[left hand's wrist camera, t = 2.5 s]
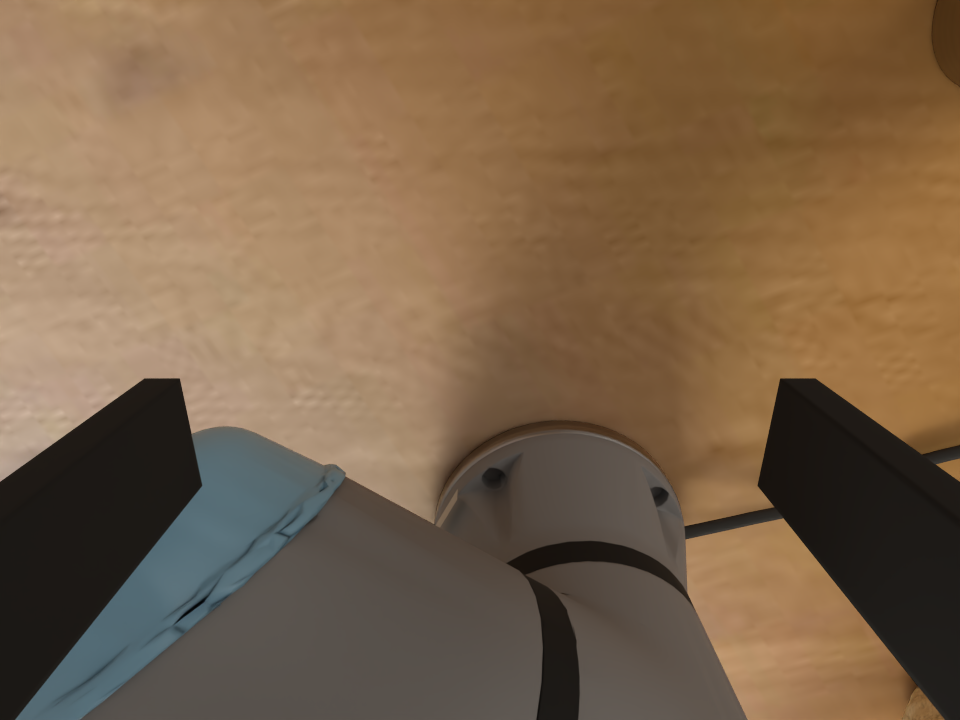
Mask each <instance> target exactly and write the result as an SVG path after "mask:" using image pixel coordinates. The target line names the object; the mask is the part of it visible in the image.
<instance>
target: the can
mask: <svg viewBox="0 0 960 720" xmlns="http://www.w3.org/2000/svg"><path fill="white" fill-rule="evenodd" d="M932 42H933V48H934V53H935V56H936V59H937V62H938V63H939V65H940V67H941V69H942V70H943V72H944V73H945V74H946V76H947V77H948V78H949V79H950V80H952V81H953V82H954V83H956V84H957V85H959V86H960V0H938V2H937V5H936V8H935V13H934V18H933V26H932Z"/></svg>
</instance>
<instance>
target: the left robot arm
mask: <svg viewBox="0 0 960 720" xmlns="http://www.w3.org/2000/svg"><path fill="white" fill-rule="evenodd" d="M959 458H960V445H959V446H954V447H950V448H946V449H942V450H938V451H934V452H930V453H926V454H923V455H921V454H920V453H919V452H917V451H916V450H914V449H913V448H912V447H910V446H909V445H908V444H906V443H905V442H903V441H902V440H901V439H899V438H898V437H896V436H895V435H894V434H892V433H891V432H889V431H888V430H887V429H885V428H884V427H882V426H881V425H880V424H878V423H877V422H875V421H874V420H873V419H871V418H870V417H868V416H867V415H866V414H864V413H863V412H861V411H860V410H859V409H857V408H856V407H854V406H853V405H852V404H850V403H849V402H847V401H846V400H845V399H843V398H842V397H840V396H839V395H838V394H836V393H835V392H833V391H832V390H831V389H829V388H828V387H826V386H825V385H824V384H822V383H821V382H819V381H818V380H817V379H780V382H779V387H778V392H777V396H776V401H775V406H774V411H773V415H772V420H771V425H770V429H769V434H768V439H767V444H766V448H765V453H764V458H763V462H762V467H761V472H760V477H759V481H758V487H759V488H760V489H761V491H762V492H763V493H764V494H765V496H766V497H767V498H768V499H769V501H770V502H771V503H772V504H773V506H774V508H769V509H764V510H759V511H754V512H749V513H744V514H740V515H735V516H731V517H726V518H722V519H717V520H712V521H708V522H703V523H698V524H694V525H689V526H684V521H683V517H682V513H681V508H680V505H679V502H678V499H677V496H676V494H675V492H674V490H673V488H672V486H671V485H670V483H669V481H668V479H667V478H666V476H665V474H664V472H663V471H662V469H661V468H660V466H659V465H658V464H657V462H656V461H655V460H654V459H653V458H652V457H651V456H650V455H649V454H648V453H647V452H646V451H645V450H644V449H643V448H642V447H640V446H639V445H638V444H636V443H635V442H634V441H632V440H630V439H629V438H627V437H625V436H623V435H621V434H619V433H617V432H615V431H613V430H610V429H607V428H604V427H601V426H597V425H594V424H589V423H583V422H576V421H547V422H539V423H534V424H528V425H525V426H521V427H518V428H514V429H512V430H509V431H507V432H504V433H502V434H500V435H498V436H496V437H494V438H492V439H490V440H489V441H487V442H485V443H484V444H482V445H481V446H479V447H478V448H477V449H475V450H474V451H473V452H472V453H470V454H469V455H468V456H467V457H466V458H465V459H464V460H463V461H462V462H461V463H460V464H459V466H458V467H457V468H456V469H455V470H454V472H453V473H452V475H451V476H450V478H449V479H448V481H447V483H446V484H445V486H444V489H443V491H442V493H441V495H440V498H439V502H438V505H437V510H436V516H435V525H434V524H432V523H430V522H428V521H427V520H425V519H423V518H421V517H419V516H417V515H416V514H414V513H412V512H410V511H408V510H406V509H404V508H403V507H401V506H399V505H397V504H395V503H393V502H392V501H390V500H388V499H386V498H384V497H382V496H380V495H379V494H377V493H375V492H373V491H371V490H369V489H368V488H366V487H364V486H362V485H360V484H358V483H356V482H355V481H353V480H351V479H349V478H347V477H345V472H344V471H343V470H342V469H340V468H339V467H338V466H337V465H333V464H328V465H322V464H319V463H317V462H315V461H313V460H311V459H309V458H307V457H305V456H303V455H301V454H298V453H296V452H294V451H292V450H290V449H288V448H286V447H284V446H282V445H280V444H278V443H275V442H273V441H271V440H269V439H267V438H265V437H263V436H261V435H259V434H257V433H254V432H252V431H249V430H246V429H242V428H237V427H215V428H209V429H205V430H202V431H199V432H196V433H193V434H191V429H190V425H189V420H188V415H187V411H186V406H185V401H184V396H183V392H182V387H181V382H180V379H143V380H142V381H141V382H139V383H138V384H136V385H135V386H134V387H132V388H131V389H129V390H128V391H127V392H125V393H124V394H122V395H121V396H120V397H118V398H117V399H115V400H114V401H113V402H111V403H110V404H108V405H107V406H106V407H104V408H103V409H101V410H100V411H99V412H97V413H96V414H94V415H93V416H92V417H90V418H89V419H87V420H86V421H85V422H83V423H82V424H80V425H79V426H78V427H76V428H75V429H73V430H72V431H71V432H69V433H68V434H66V435H65V436H64V437H62V438H61V439H59V440H58V441H57V442H55V443H54V444H52V445H51V446H50V447H48V448H47V449H46V450H44V451H43V452H41V453H40V454H39V455H37V456H36V457H34V458H33V459H32V460H30V461H29V462H27V463H26V464H25V465H23V466H22V467H20V468H19V469H18V470H16V471H15V472H13V473H12V474H11V475H9V476H8V477H6V478H5V479H4V480H2V481H1V482H0V720H747V718H746V715H745V713H744V711H743V709H742V707H741V705H740V703H739V701H738V699H737V697H736V694H735V692H734V690H733V688H732V686H731V684H730V682H729V680H728V678H727V676H726V673H725V671H724V669H723V667H722V665H721V663H720V661H719V659H718V657H717V655H716V652H715V650H714V648H713V646H712V644H711V642H710V640H709V638H708V636H707V634H706V631H705V629H704V627H703V625H702V623H701V621H700V619H699V617H698V615H697V613H696V611H695V609H694V607H693V604H692V602H691V600H690V598H689V596H688V594H687V571H686V545H685V539H689V538H694V537H698V536H703V535H708V534H712V533H717V532H721V531H726V530H731V529H735V528H740V527H744V526H748V525H753V524H758V523H763V522H767V521H772V520H777V519H782V518H784V519H785V521H786V522H787V523H788V524H789V526H790V527H791V528H792V529H793V531H794V532H795V533H796V534H797V536H798V537H799V538H800V539H801V541H802V542H803V543H804V544H805V546H806V547H807V548H808V549H809V551H810V552H811V553H812V554H813V556H814V557H815V558H816V559H817V561H818V562H819V563H820V564H821V566H822V567H823V568H824V569H825V571H826V572H827V573H828V574H829V576H830V577H831V578H832V579H833V581H834V582H835V583H836V584H837V586H838V587H839V588H840V589H841V591H842V592H843V593H844V594H845V596H846V597H847V598H848V599H849V601H850V602H851V603H852V604H853V606H854V607H855V608H856V609H857V611H858V612H859V613H860V614H861V616H862V617H863V618H864V619H865V621H866V622H867V623H868V624H869V626H870V627H871V628H872V629H873V631H874V632H875V633H876V634H877V636H878V637H879V638H880V639H881V641H882V642H883V643H884V644H885V646H886V647H887V648H888V649H889V651H890V652H891V653H892V654H893V656H894V657H895V658H896V659H897V661H898V662H899V663H900V664H901V666H902V667H903V668H904V669H905V671H906V672H907V673H908V674H909V676H910V677H911V678H912V679H913V681H914V682H915V683H916V684H917V686H918V687H919V688H920V689H921V691H922V692H923V693H924V694H925V696H926V697H927V698H928V699H929V701H930V702H931V703H932V704H933V706H934V707H935V708H936V709H937V711H938V712H939V713H940V714H941V716H942V717H943V718H944V719H945V720H960V482H959V481H958V480H956V479H955V478H954V477H952V476H951V475H949V474H948V473H947V472H945V471H944V470H942V469H941V468H940V467H938V466H937V465H935V464H939V463H943V462H946V461H951V460H955V459H959Z"/></svg>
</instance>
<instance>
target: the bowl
mask: <svg viewBox="0 0 960 720" xmlns="http://www.w3.org/2000/svg"><path fill="white" fill-rule="evenodd" d="M902 720H945V719H944V718H943V717H942V716H941V714H940V713H939V712H938V711H937V709H936V708H935V707H934V706H933V704H932V703H931V702H930V701H929V699H928V698H927V697H926V696H925V694H924V693H923V692H922V691H921V689H920V688H919V687H917V688H916V689H915V690H914V692H913V693H912V695H911V697H910V701H909V703H908V704H907V707H906V710H905V713H904V715H903V719H902Z"/></svg>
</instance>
